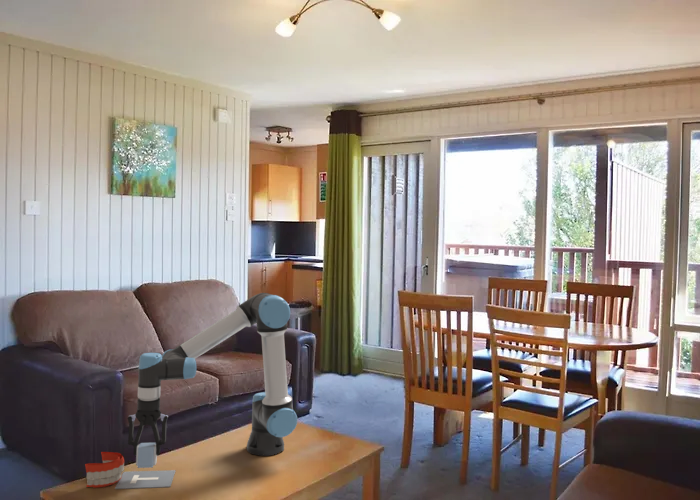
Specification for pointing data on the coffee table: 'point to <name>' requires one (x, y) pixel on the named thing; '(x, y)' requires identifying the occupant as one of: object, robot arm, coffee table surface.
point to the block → (145, 455)
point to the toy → (105, 470)
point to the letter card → (146, 479)
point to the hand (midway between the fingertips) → (146, 463)
